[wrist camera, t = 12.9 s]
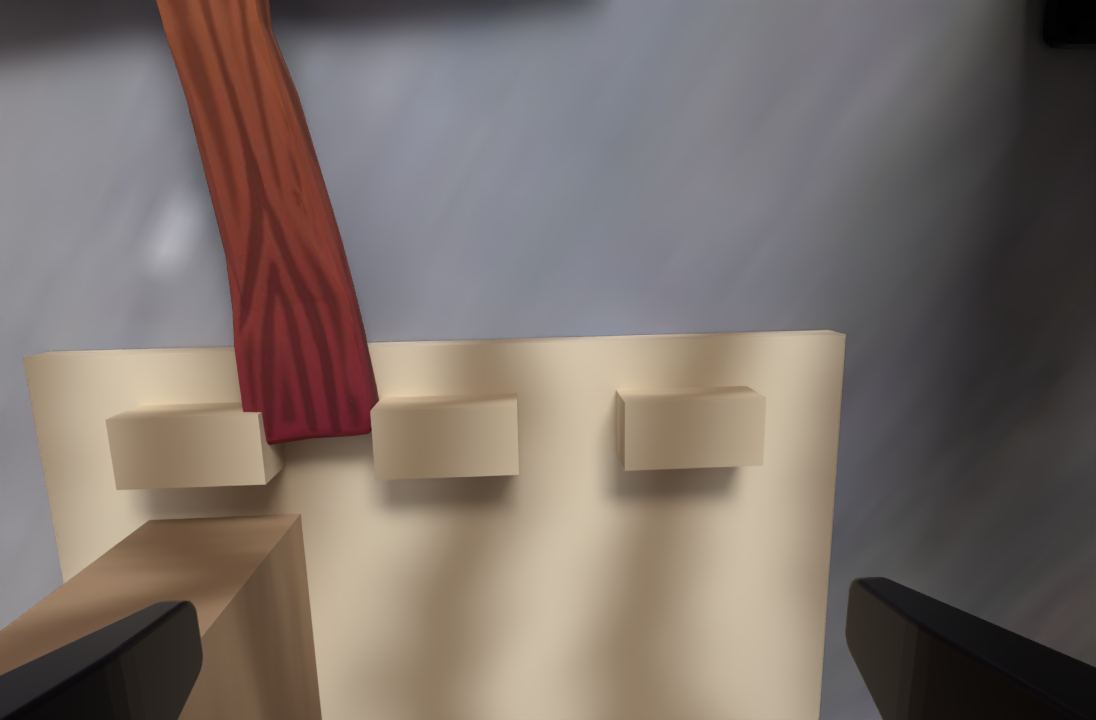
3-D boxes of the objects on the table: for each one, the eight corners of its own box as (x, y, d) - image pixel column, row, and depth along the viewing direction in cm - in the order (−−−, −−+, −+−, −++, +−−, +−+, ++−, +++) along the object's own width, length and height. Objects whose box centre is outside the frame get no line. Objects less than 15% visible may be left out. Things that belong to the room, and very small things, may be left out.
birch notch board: (829, 330, 20) (886, 345, 17) (796, 830, 23) (839, 919, 20) (49, 351, 18) (-43, 372, 15) (139, 874, 22) (79, 976, 19)
